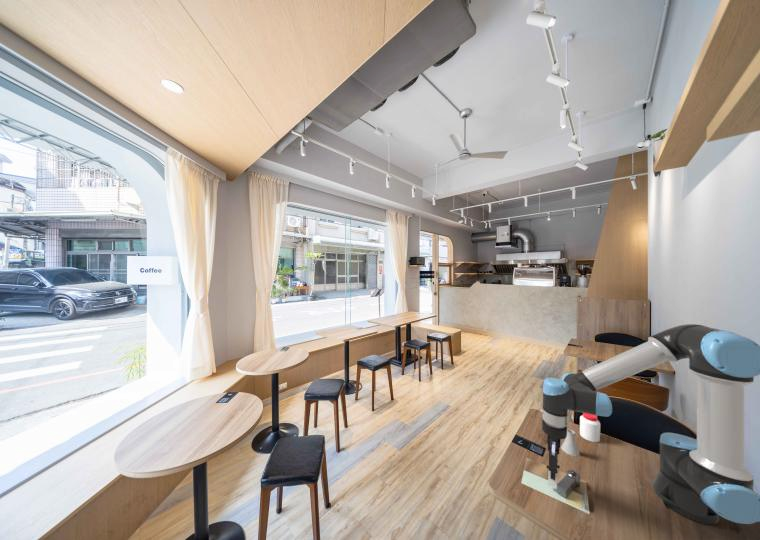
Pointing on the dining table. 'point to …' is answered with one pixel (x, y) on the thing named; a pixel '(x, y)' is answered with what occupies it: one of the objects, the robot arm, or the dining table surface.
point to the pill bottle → (590, 427)
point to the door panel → (555, 491)
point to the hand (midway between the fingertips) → (552, 485)
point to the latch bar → (568, 483)
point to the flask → (570, 444)
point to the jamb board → (543, 472)
